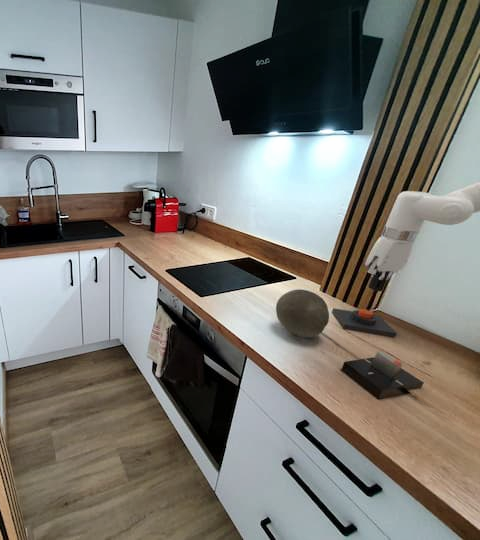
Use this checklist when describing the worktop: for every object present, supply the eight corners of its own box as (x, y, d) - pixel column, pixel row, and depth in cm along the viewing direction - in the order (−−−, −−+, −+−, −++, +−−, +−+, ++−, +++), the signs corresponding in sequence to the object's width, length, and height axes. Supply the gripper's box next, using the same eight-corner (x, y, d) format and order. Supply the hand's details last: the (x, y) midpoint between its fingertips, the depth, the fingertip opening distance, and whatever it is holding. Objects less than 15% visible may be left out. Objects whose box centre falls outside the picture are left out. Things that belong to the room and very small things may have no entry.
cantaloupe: (303, 321, 100) (316, 283, 94) (330, 347, 87) (347, 305, 81) (263, 320, 100) (274, 282, 94) (284, 346, 87) (298, 303, 81)
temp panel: (378, 364, 80) (382, 355, 79) (418, 391, 72) (424, 382, 70) (340, 370, 78) (344, 361, 77) (377, 399, 69) (383, 389, 68)
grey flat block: (376, 323, 100) (381, 311, 98) (392, 341, 91) (399, 328, 89) (330, 315, 104) (334, 303, 102) (341, 332, 94) (346, 319, 92)
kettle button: (368, 314, 97) (370, 310, 96) (373, 319, 93) (375, 315, 93) (355, 312, 98) (357, 308, 97) (360, 317, 94) (362, 313, 94)
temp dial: (370, 365, 76) (377, 350, 74) (375, 364, 76) (382, 350, 74) (390, 379, 71) (398, 364, 69) (395, 378, 71) (403, 363, 70)
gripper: (404, 230, 89) (381, 282, 97) (366, 231, 86) (345, 285, 94) (433, 237, 83) (405, 293, 90) (392, 239, 80) (367, 296, 87)
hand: (374, 289), depth 92 cm, fingers closed
